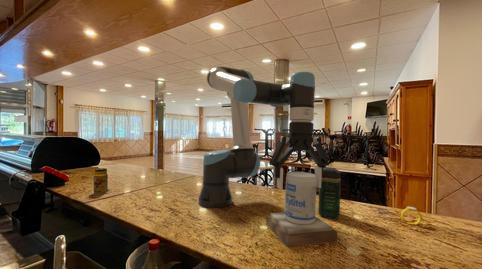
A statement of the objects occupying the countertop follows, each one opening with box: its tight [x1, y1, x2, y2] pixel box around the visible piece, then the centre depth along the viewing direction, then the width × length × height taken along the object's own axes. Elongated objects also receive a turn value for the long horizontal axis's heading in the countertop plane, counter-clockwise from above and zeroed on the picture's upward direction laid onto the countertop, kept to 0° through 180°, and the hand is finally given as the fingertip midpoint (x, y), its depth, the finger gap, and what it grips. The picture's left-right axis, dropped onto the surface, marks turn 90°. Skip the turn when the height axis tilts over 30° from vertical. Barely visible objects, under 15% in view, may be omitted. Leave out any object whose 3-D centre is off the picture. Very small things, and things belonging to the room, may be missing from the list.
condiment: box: [91, 167, 110, 196], centre depth 112 cm, size 7×8×12 cm
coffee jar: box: [317, 166, 341, 219], centre depth 87 cm, size 10×8×19 cm
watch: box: [400, 206, 423, 226], centre depth 79 cm, size 6×3×6 cm, turn 75°
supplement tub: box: [283, 171, 317, 224], centre depth 70 cm, size 10×10×15 cm
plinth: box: [265, 212, 338, 248], centre depth 70 cm, size 16×16×4 cm
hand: (299, 187), depth 71 cm, fingers open, 13 cm apart
